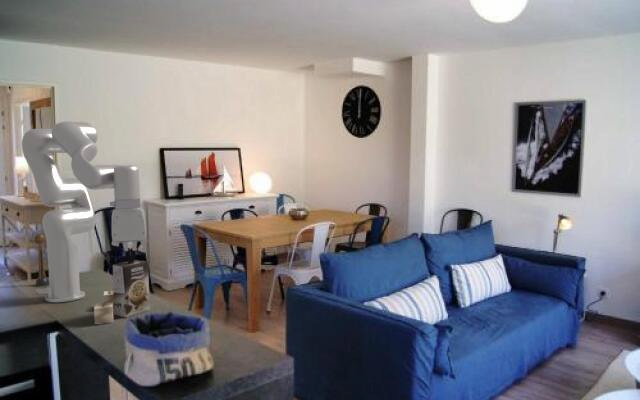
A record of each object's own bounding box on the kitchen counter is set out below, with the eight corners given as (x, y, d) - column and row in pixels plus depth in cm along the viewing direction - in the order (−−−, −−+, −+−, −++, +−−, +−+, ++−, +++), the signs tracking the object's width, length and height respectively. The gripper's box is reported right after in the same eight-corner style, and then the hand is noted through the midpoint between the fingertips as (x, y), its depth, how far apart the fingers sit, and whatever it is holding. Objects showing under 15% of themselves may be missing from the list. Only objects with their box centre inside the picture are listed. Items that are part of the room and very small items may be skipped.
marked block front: (94, 325, 155) (94, 308, 154) (95, 320, 159) (95, 303, 159) (113, 323, 156) (112, 306, 156) (113, 318, 161) (112, 301, 160)
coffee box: (126, 318, 160) (124, 266, 159) (113, 314, 164) (111, 264, 162) (150, 310, 168) (149, 261, 167) (137, 307, 172) (135, 259, 170)
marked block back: (104, 310, 169) (103, 294, 169) (105, 306, 174) (104, 290, 173) (120, 308, 171) (120, 293, 170) (120, 304, 176) (120, 289, 175)
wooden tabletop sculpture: (35, 287, 199) (32, 235, 197) (30, 285, 202) (27, 234, 200) (51, 284, 203) (48, 233, 201) (46, 282, 206) (43, 232, 204)
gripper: (101, 207, 157) (104, 267, 158) (153, 204, 162) (156, 262, 163) (102, 205, 164) (105, 262, 165) (152, 202, 169) (155, 258, 170)
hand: (130, 262), depth 164 cm, fingers closed
